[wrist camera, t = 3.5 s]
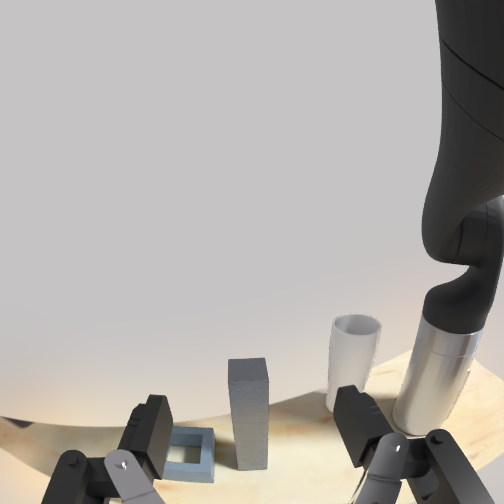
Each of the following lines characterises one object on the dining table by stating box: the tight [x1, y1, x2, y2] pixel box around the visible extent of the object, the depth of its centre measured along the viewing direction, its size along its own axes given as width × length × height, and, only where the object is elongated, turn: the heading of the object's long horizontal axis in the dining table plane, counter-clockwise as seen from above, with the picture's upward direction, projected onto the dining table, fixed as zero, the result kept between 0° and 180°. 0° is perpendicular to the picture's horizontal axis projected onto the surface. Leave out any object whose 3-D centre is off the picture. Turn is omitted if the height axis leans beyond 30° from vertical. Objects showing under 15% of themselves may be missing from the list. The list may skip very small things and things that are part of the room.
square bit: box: [228, 358, 269, 471], centre depth 25 cm, size 4×4×16 cm
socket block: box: [162, 426, 216, 483], centre depth 26 cm, size 8×8×3 cm
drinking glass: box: [326, 313, 381, 413], centre depth 34 cm, size 7×7×15 cm
